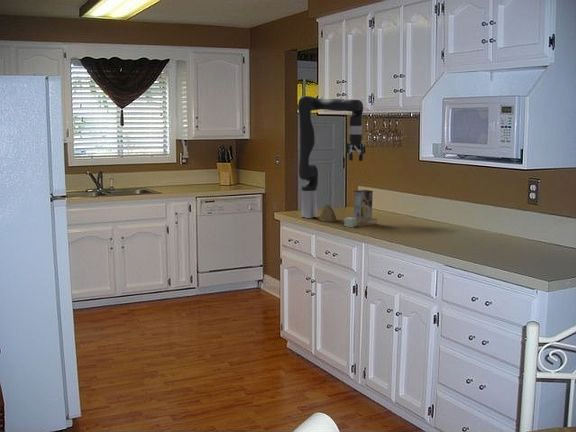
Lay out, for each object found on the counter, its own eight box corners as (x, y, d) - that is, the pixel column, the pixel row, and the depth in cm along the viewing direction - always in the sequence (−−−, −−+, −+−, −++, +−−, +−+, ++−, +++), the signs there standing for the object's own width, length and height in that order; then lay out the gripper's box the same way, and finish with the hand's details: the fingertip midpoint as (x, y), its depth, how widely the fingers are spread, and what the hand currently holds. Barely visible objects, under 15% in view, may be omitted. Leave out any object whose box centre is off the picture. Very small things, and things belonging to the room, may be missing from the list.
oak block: (347, 224, 391) (347, 218, 391) (362, 222, 399) (362, 216, 398) (361, 227, 382) (361, 220, 381) (376, 225, 389) (376, 218, 388)
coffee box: (364, 216, 395) (365, 189, 392) (372, 217, 390) (373, 190, 387) (353, 217, 390) (354, 190, 387) (360, 219, 384) (361, 191, 382)
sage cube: (344, 226, 382) (344, 218, 381) (349, 225, 386) (349, 217, 385) (351, 227, 379) (351, 219, 378) (356, 226, 382) (356, 217, 382)
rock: (341, 217, 401) (334, 213, 410) (333, 207, 398) (327, 203, 407) (327, 229, 400) (321, 224, 409) (319, 218, 397) (313, 214, 406)
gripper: (343, 133, 402) (343, 160, 404) (359, 133, 391) (359, 161, 393) (352, 133, 406) (352, 159, 409) (368, 133, 395) (368, 160, 397)
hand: (355, 160), depth 401 cm, fingers open, 8 cm apart
